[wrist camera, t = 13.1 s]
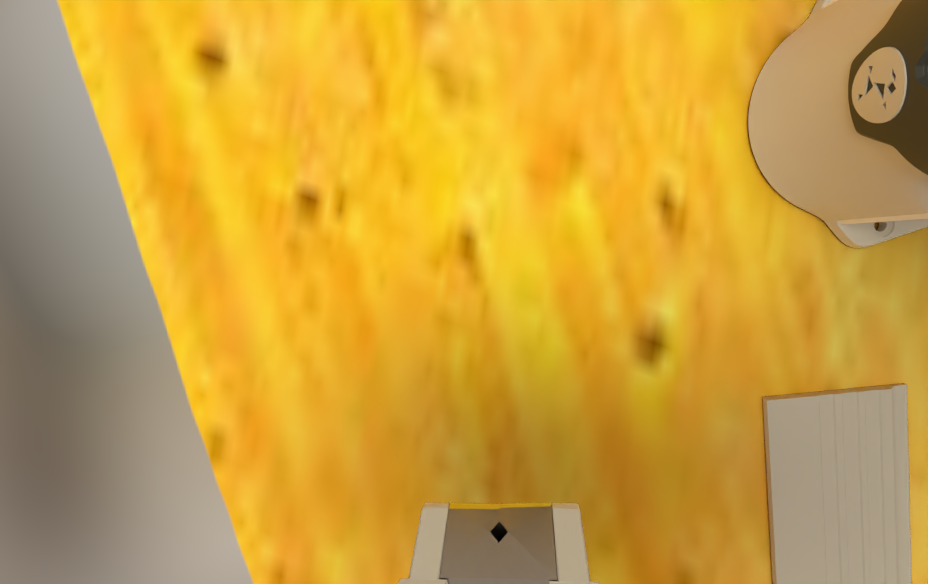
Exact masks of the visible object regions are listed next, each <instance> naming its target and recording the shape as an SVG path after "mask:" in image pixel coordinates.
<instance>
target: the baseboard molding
mask: <svg viewBox="0 0 928 584" xmlns="http://www.w3.org/2000/svg"><path fill="white" fill-rule="evenodd" d="M763 413H764V432H765V450H766V469H767V487H768V506H769V524H770V542H771V561H772V579H773V584H912V578H911V538H910V498H909V457H908V417H907V385H906V384H904V383H902V384H891V385H881V386H870V387H860V388H849V389H839V390H828V391H818V392H807V393H797V394H786V395H776V396H765V397H763Z"/></svg>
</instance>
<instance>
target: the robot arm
mask: <svg viewBox="0 0 928 584" xmlns="http://www.w3.org/2000/svg"><path fill="white" fill-rule="evenodd" d="M748 128H749V138H750V143H751V147H752V151H753V154H754V157H755V160H756V162H757V164H758V166H759V168H760V170H761V172H762V174H763V175H764V177H765V178H766V180H767V181H768V182H769V183H770V185H771V186H772V187H773V188H774V189H775V190H776V191H777V192H778V193H779V194H780V195H781V196H782V197H784V198H785V199H786V200H788V201H789V202H790V203H792V204H794V205H795V206H797V207H799V208H801V209H803V210H805V211H807V212H809V213H811V214H813V215H815V216H817V217H819V218H820V219H822V220H823V221H824V222H825V223H826V224H827V226H828V227H829V228H830V229H831V230H832V232H833V233H834V234H835V235H836V236H837V237H838V239H839V240H840V241H842V242H843V243H844V244H845V245H847V246H849V247H852V248H860V247H868V246H872V245H875V244H878V243H881V242H884V241H887V240H890V239H893V238H896V237H899V236H902V235H905V234H908V233H911V232H914V231H917V230H920V229H923V228H926V227H928V0H817V2H816V4H815V6H814V8H813V10H812V12H811V14H810V16H809V17H808V19H807V20H806V21H805V22H804V23H803V24H802V25H801V26H800V27H799V28H798V29H796V30H795V31H794V32H793V33H792V34H791V35H790V36H788V37H787V38H786V39H785V40H784V41H783V42H782V43H781V44H780V45H779V46H778V47H777V48H776V50H775V51H774V52H773V53H772V55H771V56H770V57H769V59H768V60H767V62H766V63H765V65H764V67H763V68H762V70H761V72H760V74H759V76H758V79H757V81H756V84H755V86H754V89H753V93H752V96H751V101H750V107H749V116H748ZM875 222H879V228H878V229H877V230H875V228H874V224H875ZM397 584H600V583H599V582H590V575H589V568H588V561H587V554H586V547H585V540H584V533H583V526H582V519H581V512H580V507H579V505H578V503H552V504H551V503H500V504H482V503H431V502H425V504H424V506H423V508H422V511H421V516H420V522H419V527H418V532H417V537H416V543H415V548H414V553H413V558H412V564H411V569H410V574H409V579H400V580H399V581H398V583H397Z"/></svg>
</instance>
